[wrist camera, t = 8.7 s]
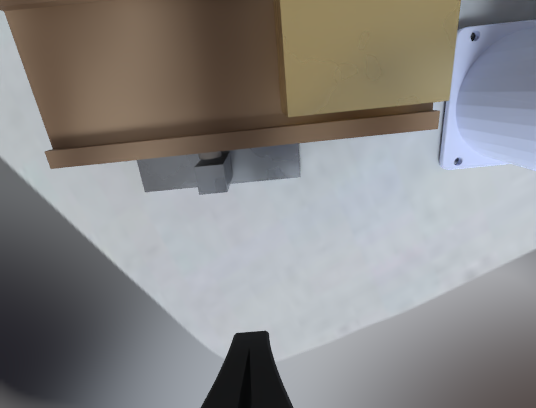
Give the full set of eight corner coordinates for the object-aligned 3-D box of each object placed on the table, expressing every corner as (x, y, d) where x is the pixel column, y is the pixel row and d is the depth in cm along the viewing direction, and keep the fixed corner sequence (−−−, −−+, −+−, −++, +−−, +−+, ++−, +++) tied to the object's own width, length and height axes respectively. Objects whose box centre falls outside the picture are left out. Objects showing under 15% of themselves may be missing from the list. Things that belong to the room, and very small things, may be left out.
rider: (417, -14, 12) (466, -46, 9) (409, 98, 14) (449, 100, 11) (273, 0, 12) (278, -27, 9) (281, 112, 14) (288, 117, 11)
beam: (422, -53, 13) (460, -87, 11) (408, 134, 16) (436, 141, 14) (28, -13, 13) (-25, -37, 11) (86, 167, 16) (55, 181, 14)
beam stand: (284, -77, 15) (290, -131, 11) (299, 174, 19) (307, 192, 16) (87, -55, 15) (32, -101, 11) (148, 189, 20) (123, 210, 16)
